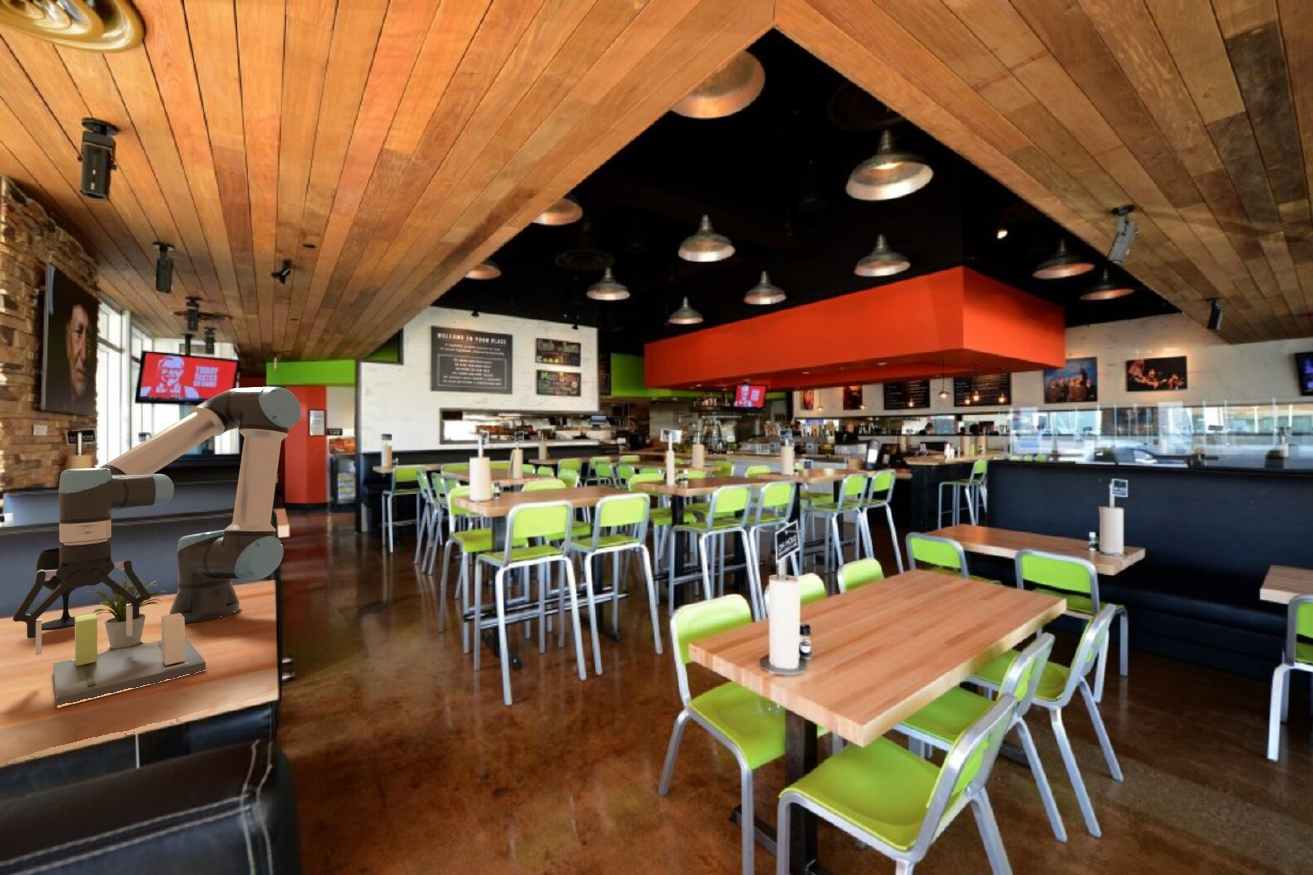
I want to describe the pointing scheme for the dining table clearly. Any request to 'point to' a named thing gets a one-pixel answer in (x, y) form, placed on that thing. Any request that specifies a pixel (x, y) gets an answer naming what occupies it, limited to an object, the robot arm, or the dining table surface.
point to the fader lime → (85, 639)
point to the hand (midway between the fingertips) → (85, 643)
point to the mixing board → (120, 671)
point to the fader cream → (173, 638)
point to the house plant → (123, 617)
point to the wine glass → (51, 562)
